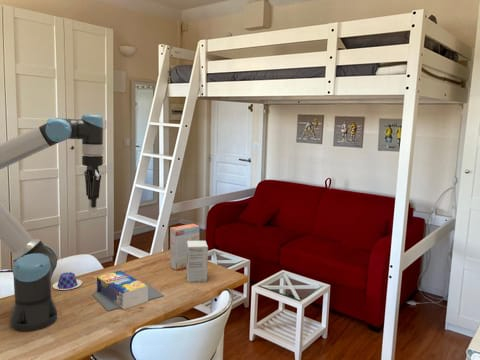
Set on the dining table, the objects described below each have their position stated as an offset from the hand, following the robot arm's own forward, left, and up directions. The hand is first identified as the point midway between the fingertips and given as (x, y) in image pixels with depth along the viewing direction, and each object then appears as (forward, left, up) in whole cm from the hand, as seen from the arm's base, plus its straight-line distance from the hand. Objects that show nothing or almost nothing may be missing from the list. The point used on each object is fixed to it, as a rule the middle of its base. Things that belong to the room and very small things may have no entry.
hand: (92, 215), depth 160 cm
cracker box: (+50, +13, -36) cm, 62 cm away
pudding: (-5, +21, -36) cm, 42 cm away
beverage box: (+12, -14, -32) cm, 37 cm away
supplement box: (+47, -3, -36) cm, 59 cm away
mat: (+13, -4, -35) cm, 38 cm away
